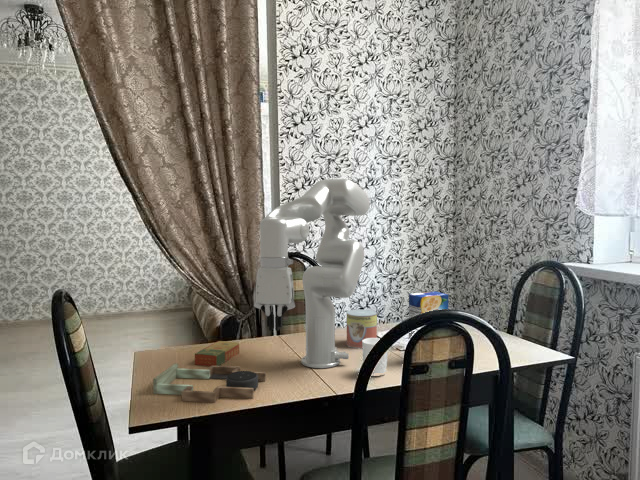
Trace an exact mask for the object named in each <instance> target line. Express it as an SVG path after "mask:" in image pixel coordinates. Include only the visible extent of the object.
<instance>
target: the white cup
mask: <svg viewBox="0 0 640 480" xmlns="http://www.w3.org/2000/svg"><path fill="white" fill-rule="evenodd" d="M379 340H380V337H377V338H366V339H364V340H362V348H363V349H362V361H363V362H364V360H365V358H366V357H367V355H368V354H369V352H370V351H371V349H372V348H373V346H374V345H375V344H376V343H377V342H378V341H379ZM388 353H389V350H388V351H387V352H386V353H385V354H384V355H383V357H382V358H381V360H380V361H379V363H378V364H377V366H376V368H375V370H374V372H373V374H374V373H384V372H386V373H387V365H388Z"/></svg>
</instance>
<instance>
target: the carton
mask: <svg viewBox="0 0 640 480" xmlns="http://www.w3.org/2000/svg"><path fill="white" fill-rule="evenodd" d="M239 354H240V343H239V342H236V341H225V340H217V341H216V342H214V343H211V345H208V346H206V347H205V348H203V349H201V350H199V351H197V352H195V353H194V365H196V366H203V367H204V366H205V367H211V366H222V364H223V363H225V362H227V361H229V360H231V359H232V358H233V357H236V355H239Z"/></svg>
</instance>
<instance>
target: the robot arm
mask: <svg viewBox="0 0 640 480" xmlns="http://www.w3.org/2000/svg"><path fill="white" fill-rule="evenodd" d="M369 209H370V197H369V196H368V193H367V192H366V191H365V190H364V189H363V188H361V187H360V185H358V184H356V183H355V182H354V181H352V180H350V179H347V178H339V179H337V178H331V179H328V178H327V179H321V180H319V181H317V182H316V183H314V184H313V185H312V187H310V188H309V189H308V190H307V191H306V192H305V193H304V194H303V195H302V196H300V197H298V198H296V199H294V200H291V201H287V202H286V203H284V204H281V205H278V206H277V207H275V208H274V209H272V210H271V211H270V212H268V214H267V215H265V216H264V218H263V219H262V220H261V221H260V223H259V249H260V251H259V252H260V253H259V254H260V257H259V258H260V259H259V260H260V262H259V263H260V267H258V268H257V274H256V281H255V294H254V297H255V299H254V300H255V301H254V303H253V307H254V308H256V309H259V310H261V311H262V312H263V313H264V315H265V316H266V326H267V328H268V331H269V332H270V331H273V330H274V329H275V331H276V332H278V331H280V329H281V328H282V327H283V315H284V313H286V312H287V311H289V310H292V309H294V308H295V307H296V303H295V300H294V299H295V289H294V288H295V287H294V277H293V273H292V268H291V267H289V266H291V265H293V264H294V259H292V258H289V252H288V251H289V244H300V243H304V241H306V240H307V239H308V237H309V235H310V234H309V233H310V226H309V224H308V223H310V222H314V221H317V220H319V219H320V218H321V217H322V216H323V221H324V225H325V226H324V228H325V229H324V231H323V234H322V238H321V240H320V242H319V245H318V249H317V251H316V256H315V257H316V262H317V264H318V265H314V266H310V267H308V268H307V269H305V271H304V273H303V275H302V280H301V281H302V288H303V293H304V300H305V301H304V303H305V355H304V356H303V357H301V361H300V362H301V364H302V365H303V366H305V367H308V368H311V369H329V368H335V367H336V366H338V365H340V363H341V361H340V359H342V360H349V356H350V355H349V353H348V352H346V351H339V350H338V347H337V346H336V308H335V305H334V303H333V301H332V299H331V298H341V299H343V298H344V299H347V298H350V297H351V296H352V295H354V293H355V291H356V289H357V285H358V281H359V278H360V275H361V272H362V268H363V266H364V265H363V264H364V261H365V250H364V246H363V245H362V243H361V242H360V241H358V240H355V239H354V240H352V239H349V237H350V230H349V228H348V225H347V224H346V222H345V221H344V220H343V219H342V217H343V216H345V217H346V216H347V217H348V216H352V217H354V216H355V217H358V216H364V215H366V214H367V213H368V212H369ZM272 306H277V308H276V309H277V311H276V315H275V314H274V313H273V307H272Z"/></svg>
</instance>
